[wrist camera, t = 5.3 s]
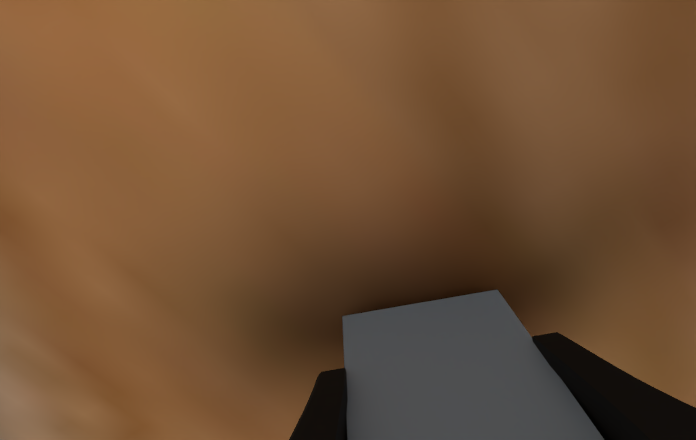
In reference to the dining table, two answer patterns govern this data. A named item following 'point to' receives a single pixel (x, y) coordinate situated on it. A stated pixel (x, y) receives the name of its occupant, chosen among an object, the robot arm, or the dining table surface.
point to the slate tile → (454, 376)
